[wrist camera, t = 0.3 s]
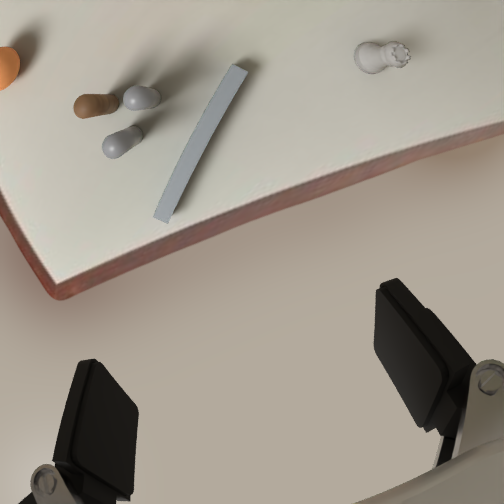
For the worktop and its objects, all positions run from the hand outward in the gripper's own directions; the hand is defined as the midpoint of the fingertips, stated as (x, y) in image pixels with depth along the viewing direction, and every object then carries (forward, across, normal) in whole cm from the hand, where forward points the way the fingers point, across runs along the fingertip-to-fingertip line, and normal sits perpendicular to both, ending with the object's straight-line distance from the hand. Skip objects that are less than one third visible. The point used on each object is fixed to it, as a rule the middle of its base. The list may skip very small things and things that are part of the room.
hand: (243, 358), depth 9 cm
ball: (+28, +22, -22) cm, 42 cm away
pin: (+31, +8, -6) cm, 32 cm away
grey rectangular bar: (+31, +1, -3) cm, 31 cm away
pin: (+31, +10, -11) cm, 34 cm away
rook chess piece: (+31, -23, -10) cm, 40 cm away
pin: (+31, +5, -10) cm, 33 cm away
